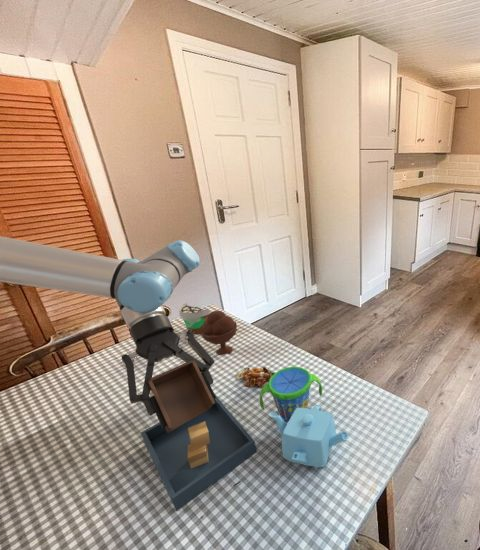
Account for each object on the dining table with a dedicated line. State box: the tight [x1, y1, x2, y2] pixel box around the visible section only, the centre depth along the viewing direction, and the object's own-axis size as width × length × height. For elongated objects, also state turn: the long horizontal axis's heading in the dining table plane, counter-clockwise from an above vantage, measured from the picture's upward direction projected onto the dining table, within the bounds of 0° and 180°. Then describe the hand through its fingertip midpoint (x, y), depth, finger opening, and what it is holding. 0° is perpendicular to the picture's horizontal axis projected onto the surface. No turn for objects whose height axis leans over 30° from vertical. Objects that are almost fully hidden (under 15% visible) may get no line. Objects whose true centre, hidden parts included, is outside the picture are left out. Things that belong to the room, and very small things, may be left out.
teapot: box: [269, 405, 349, 469], centre depth 66 cm, size 18×14×10 cm
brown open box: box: [147, 359, 215, 433], centre depth 67 cm, size 11×9×8 cm
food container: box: [179, 303, 211, 336], centre depth 113 cm, size 12×6×10 cm, turn 68°
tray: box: [140, 394, 257, 512], centre depth 69 cm, size 22×17×4 cm
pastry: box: [235, 366, 276, 388], centre depth 90 cm, size 7×12×4 cm, turn 78°
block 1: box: [188, 421, 210, 450], centre depth 66 cm, size 3×3×3 cm
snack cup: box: [259, 366, 323, 422], centre depth 78 cm, size 16×10×10 cm
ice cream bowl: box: [200, 310, 238, 356], centre depth 101 cm, size 11×11×15 cm
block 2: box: [188, 444, 209, 469], centre depth 66 cm, size 3×3×3 cm
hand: (190, 412), depth 65 cm, fingers closed on brown open box, 9 cm apart
